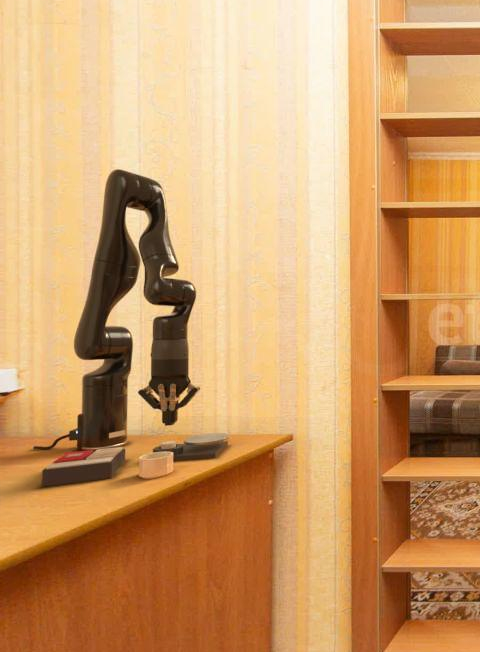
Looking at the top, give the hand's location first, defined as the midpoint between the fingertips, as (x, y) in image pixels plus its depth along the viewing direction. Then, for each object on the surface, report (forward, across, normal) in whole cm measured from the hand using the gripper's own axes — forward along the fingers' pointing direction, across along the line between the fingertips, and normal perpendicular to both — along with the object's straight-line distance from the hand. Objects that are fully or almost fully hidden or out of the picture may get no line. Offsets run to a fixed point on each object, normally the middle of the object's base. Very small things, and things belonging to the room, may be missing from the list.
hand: (169, 424), depth 111 cm
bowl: (+9, -2, +13) cm, 16 cm away
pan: (+6, -7, -5) cm, 10 cm away
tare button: (+6, 0, 0) cm, 6 cm away
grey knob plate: (+9, -4, -3) cm, 10 cm away
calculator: (+9, +13, +7) cm, 17 cm away
